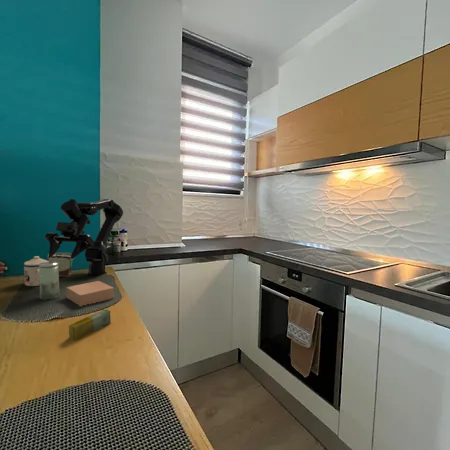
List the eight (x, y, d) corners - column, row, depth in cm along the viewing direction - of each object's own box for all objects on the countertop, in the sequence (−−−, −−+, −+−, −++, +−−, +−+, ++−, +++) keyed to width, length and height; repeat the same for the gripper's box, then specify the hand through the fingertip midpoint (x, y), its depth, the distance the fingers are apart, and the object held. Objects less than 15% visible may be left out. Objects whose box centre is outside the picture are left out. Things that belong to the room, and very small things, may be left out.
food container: (80, 273, 134) (79, 253, 134) (71, 276, 128) (71, 255, 127) (56, 271, 136) (56, 251, 135) (47, 275, 129) (46, 254, 129)
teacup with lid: (23, 282, 118) (22, 255, 117) (48, 279, 123) (47, 253, 122) (25, 289, 108) (24, 260, 107) (52, 286, 114) (51, 258, 113)
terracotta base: (98, 290, 111) (98, 280, 111) (113, 298, 103) (113, 287, 103) (66, 297, 102) (66, 287, 101) (80, 306, 94) (80, 295, 94)
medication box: (104, 321, 84) (104, 309, 84) (111, 323, 83) (111, 310, 83) (68, 339, 73) (67, 324, 73) (75, 341, 72) (74, 326, 72)
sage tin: (56, 293, 106) (55, 260, 105) (62, 297, 102) (61, 263, 101) (37, 296, 102) (36, 263, 100) (42, 301, 98) (42, 266, 96)
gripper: (46, 213, 113) (26, 245, 103) (89, 215, 111) (72, 248, 101) (60, 229, 121) (43, 260, 112) (100, 231, 120) (86, 262, 110)
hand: (60, 257), depth 109 cm, fingers open, 9 cm apart
